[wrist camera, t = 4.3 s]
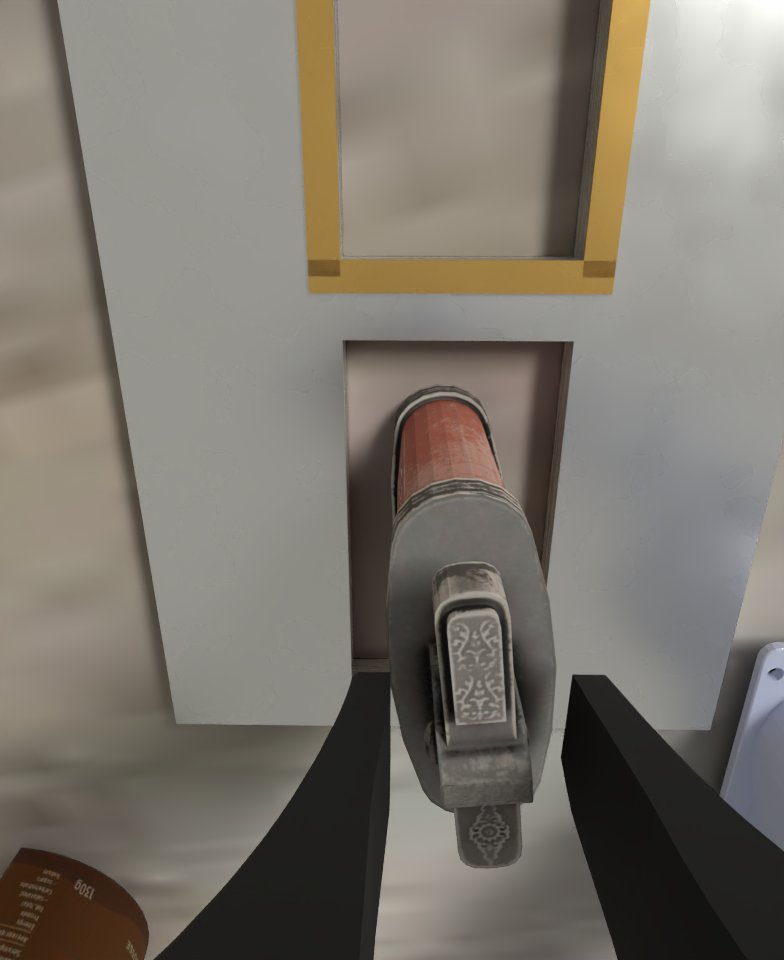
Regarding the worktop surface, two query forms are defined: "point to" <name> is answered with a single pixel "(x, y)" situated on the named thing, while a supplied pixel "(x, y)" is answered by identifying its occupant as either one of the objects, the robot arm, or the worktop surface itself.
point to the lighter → (467, 625)
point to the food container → (66, 912)
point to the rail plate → (435, 317)
